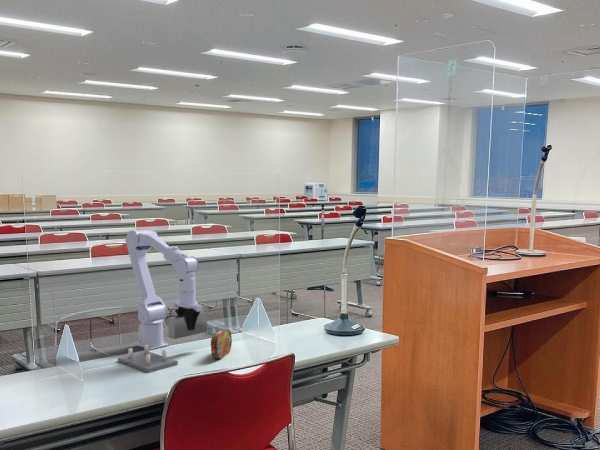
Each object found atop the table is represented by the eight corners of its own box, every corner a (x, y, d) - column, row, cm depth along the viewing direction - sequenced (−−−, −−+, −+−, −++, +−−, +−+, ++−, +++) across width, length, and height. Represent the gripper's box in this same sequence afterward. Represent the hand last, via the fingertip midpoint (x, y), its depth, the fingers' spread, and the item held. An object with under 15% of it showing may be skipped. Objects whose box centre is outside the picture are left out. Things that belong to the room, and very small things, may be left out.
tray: (117, 361, 181) (117, 348, 181) (146, 354, 189) (146, 341, 189) (148, 372, 168) (147, 358, 168) (177, 364, 176) (177, 351, 176)
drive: (168, 337, 186) (168, 317, 185) (201, 330, 196) (201, 311, 196) (174, 339, 183) (174, 318, 183) (207, 331, 194) (206, 312, 193)
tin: (218, 361, 179) (217, 337, 179) (209, 361, 180) (208, 336, 179) (232, 349, 194) (232, 326, 193) (224, 349, 194) (224, 326, 194)
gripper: (209, 291, 187) (209, 330, 187) (184, 287, 197) (185, 324, 197) (192, 294, 182) (193, 333, 182) (168, 290, 191) (169, 327, 192)
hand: (188, 329), depth 189 cm, fingers closed on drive, 3 cm apart
